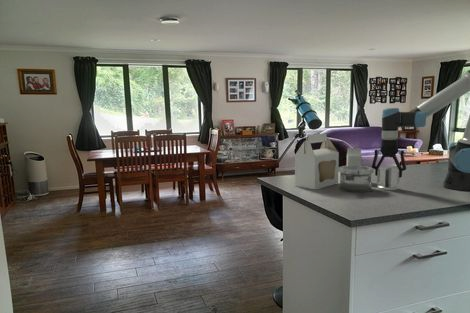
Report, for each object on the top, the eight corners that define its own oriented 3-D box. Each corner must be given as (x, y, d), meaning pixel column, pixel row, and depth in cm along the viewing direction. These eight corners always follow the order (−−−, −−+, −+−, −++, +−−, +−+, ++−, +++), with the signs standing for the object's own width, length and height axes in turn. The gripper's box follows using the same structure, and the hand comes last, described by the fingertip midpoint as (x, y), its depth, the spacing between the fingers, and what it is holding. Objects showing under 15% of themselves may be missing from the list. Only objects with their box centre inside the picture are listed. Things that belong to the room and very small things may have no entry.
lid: (400, 187, 177) (400, 168, 176) (396, 191, 169) (397, 171, 168) (379, 185, 183) (380, 166, 182) (375, 189, 175) (376, 169, 173)
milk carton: (361, 182, 191) (361, 148, 189) (347, 182, 193) (348, 148, 190) (359, 180, 198) (359, 147, 196) (346, 179, 200) (346, 147, 197)
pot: (375, 187, 179) (375, 166, 177) (365, 196, 161) (365, 173, 160) (344, 184, 187) (344, 164, 186) (331, 192, 170) (331, 170, 168)
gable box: (318, 180, 201) (319, 132, 197) (338, 183, 191) (339, 133, 188) (294, 186, 187) (294, 134, 183) (314, 190, 177) (314, 135, 173)
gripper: (414, 138, 170) (412, 183, 173) (369, 137, 182) (368, 179, 185) (412, 140, 164) (410, 186, 167) (365, 139, 176) (364, 182, 179)
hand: (388, 182), depth 176 cm, fingers open, 9 cm apart
